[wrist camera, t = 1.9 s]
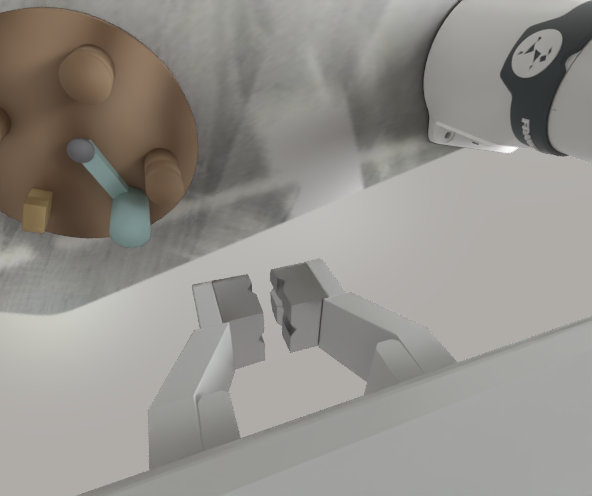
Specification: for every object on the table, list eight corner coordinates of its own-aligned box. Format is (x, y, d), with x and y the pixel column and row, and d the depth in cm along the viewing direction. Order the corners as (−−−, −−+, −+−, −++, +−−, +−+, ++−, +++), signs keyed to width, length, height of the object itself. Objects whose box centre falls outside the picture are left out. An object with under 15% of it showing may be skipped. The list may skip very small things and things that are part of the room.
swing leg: (57, 142, 27) (44, 169, 23) (92, 125, 28) (84, 148, 23) (126, 221, 33) (125, 253, 29) (155, 206, 33) (158, 236, 29)
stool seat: (217, 67, 31) (238, 85, 25) (170, 237, 38) (177, 283, 32) (-62, -49, 22) (-137, -65, 16) (-52, 204, 29) (-100, 259, 23)
